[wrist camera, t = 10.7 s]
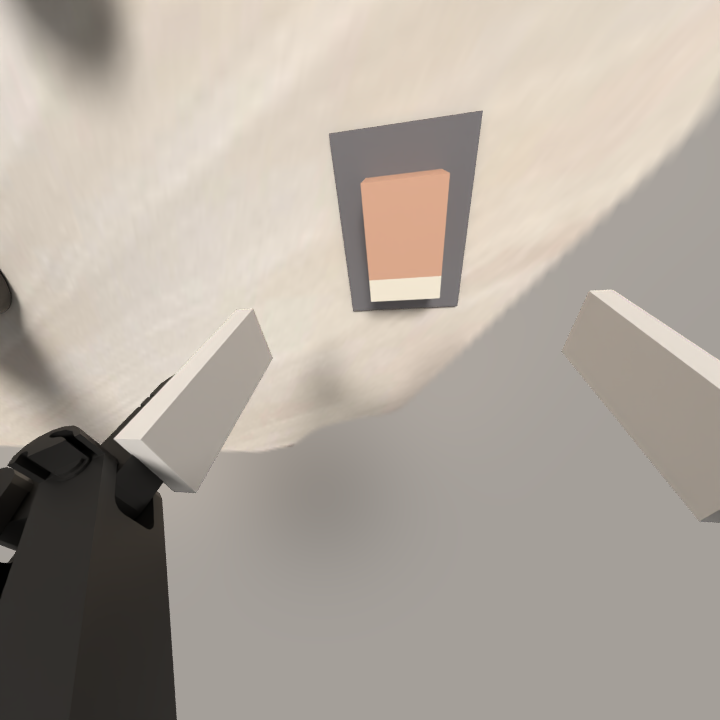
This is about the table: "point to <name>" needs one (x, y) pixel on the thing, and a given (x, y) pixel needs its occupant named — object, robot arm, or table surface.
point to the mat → (397, 156)
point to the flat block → (405, 233)
